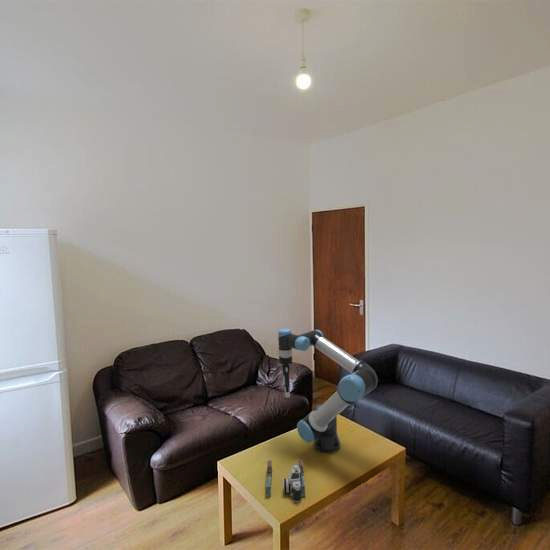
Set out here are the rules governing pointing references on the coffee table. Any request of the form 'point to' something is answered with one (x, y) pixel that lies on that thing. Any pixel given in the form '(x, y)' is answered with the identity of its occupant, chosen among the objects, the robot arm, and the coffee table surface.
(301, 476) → the rail
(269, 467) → the rail
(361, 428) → the coffee table surface
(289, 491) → the camera
